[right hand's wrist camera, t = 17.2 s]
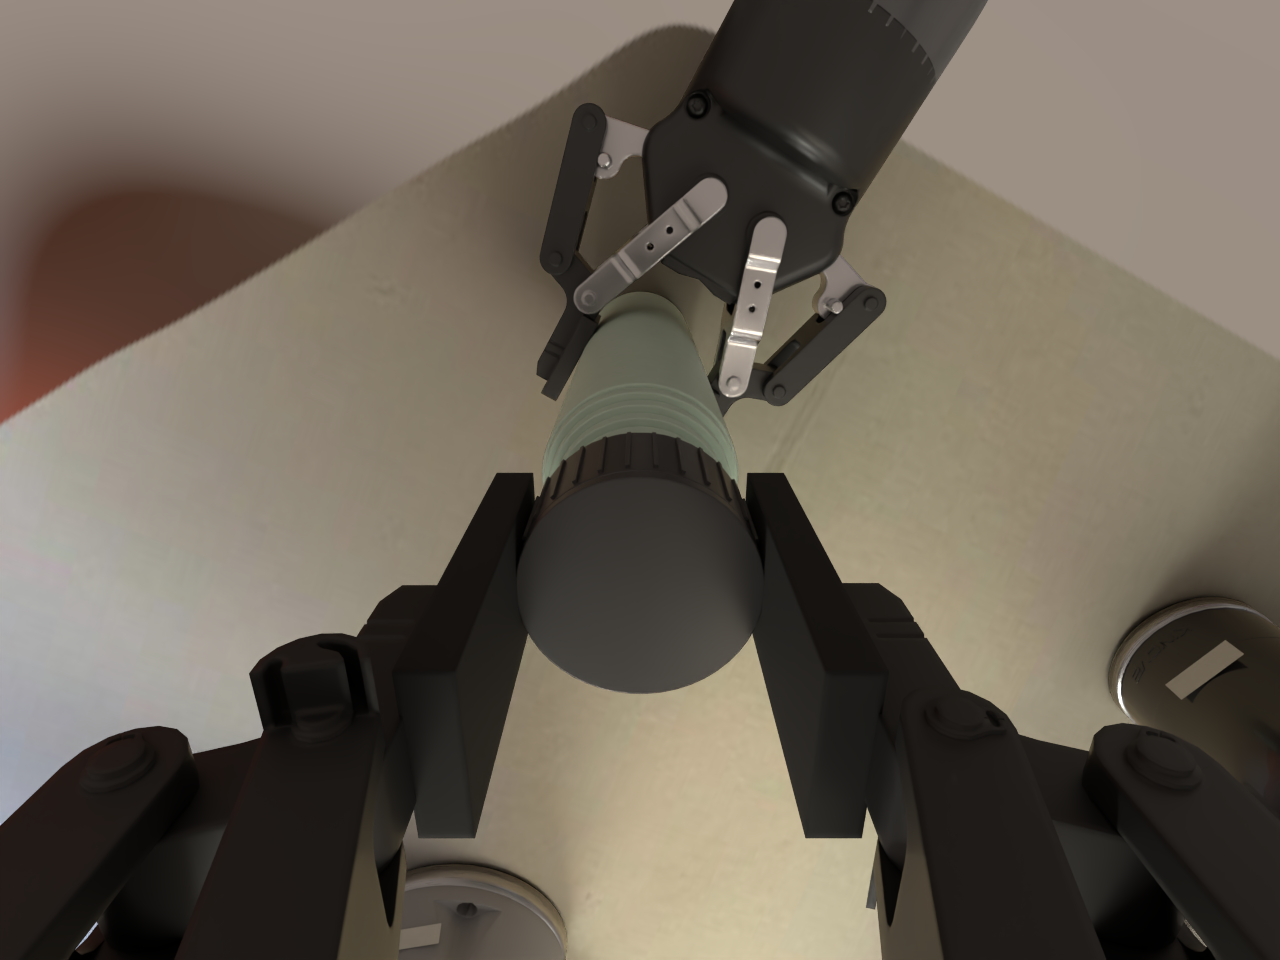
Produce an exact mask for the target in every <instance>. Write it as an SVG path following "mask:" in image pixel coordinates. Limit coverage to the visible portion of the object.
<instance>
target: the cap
mask: <svg viewBox="0 0 1280 960" xmlns="http://www.w3.org/2000/svg"><path fill="white" fill-rule="evenodd" d="M522 540H525V541H524V544H523V547H522V550H521V553H520V556H519V560H518V564H517V568H516V580H517V594H518V606H519V613H520V616H521V619H522V621H523V624H524V626H525V628H526V630H527V632H528V633H529V635H530V637H531V639H532V640H533V641H534V643H535V644H536V645H537V647H538V648H539V650H540V651H541V652H542V653H543V654H544V655H545V656H546V657H547V658H548V659H549V660H550V661H551V662H553V663H554V664H555V665H556V666H558V667H559V668H560V669H561V670H563V671H564V672H566V673H568V674H569V675H571V676H572V677H574V678H576V679H578V680H581V681H583V682H585V683H587V684H590V685H593V686H595V687H598V688H601V689H606V690H610V691H614V692H621V693H630V694H650V693H660V692H666V691H671V690H675V689H679V688H682V687H685V686H688V685H691V684H693V683H696V682H698V681H700V680H702V679H704V678H706V677H708V676H709V675H711V674H713V673H714V672H716V671H718V670H719V669H720V668H722V667H723V666H724V665H725V664H727V663H728V662H729V661H730V660H731V659H732V658H733V657H734V656H735V655H736V654H737V653H738V652H739V651H740V650H741V649H742V647H743V646H744V645H745V643H746V642H747V641H748V639H749V638H750V636H751V634H752V632H753V631H754V629H755V627H756V625H757V622H758V620H759V617H760V615H761V611H762V600H763V587H764V567H763V562H762V558H761V555H760V552H759V549H758V546H757V543H758V542H760V541H759V538H758V535H757V533H756V530H755V527H754V524H753V521H752V518H751V516H750V513H749V510H748V507H747V504H746V501H745V499H744V498H743V499H742V498H741V495H740V492H739V489H738V486H737V483H736V481H735V479H731V478H730V476H729V475H728V474H727V472H726V471H725V470H724V469H723V467H722V464H721V463H720V462H719V461H718V462H716V461H715V460H714V459H713V458H712V457H711V456H709V455H708V454H707V453H705V452H704V451H703V449H702V448H701V447H699V448H697V447H695V446H694V445H692V444H690V443H688V442H685V441H683V440H681V438H679V437H676V438H674V437H670V436H667V435H663V434H656V432H652V433H631V432H627V433H625V434H618V435H614V436H610V437H607V436H605V437H603V438H602V439H600V440H598V441H595V442H593V443H591V444H589V445H587V446H585V447H584V446H582V447H580V450H578V451H577V452H575V453H574V454H573V455H571V456H570V457H568V458H567V459H566V460H564V459H563V460H562V461H561V463H560V466H559V467H558V468H557V469H556V471H555V472H554V473H553V474H552V476H551V477H547V478H546V481H545V484H544V487H543V489H542V492H541V495H540V497H539V496H537V497H536V500H535V503H534V506H533V508H532V511H531V514H530V517H529V520H528V523H527V525H526V528H525V531H524V534H523V537H522Z"/></svg>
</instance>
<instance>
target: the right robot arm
mask: <svg viewBox="0 0 1280 960" xmlns="http://www.w3.org/2000/svg"><path fill="white" fill-rule="evenodd" d="M534 503H535V496H534V480H533V473H496V475H495V477H494V479H493V481H492V483H491V485H490V487H489V489H488V490H487V492H486V494H485V496H484V498H483V500H482V502H481V504H480V506H479V507H478V509H477V511H476V513H475V515H474V517H473V519H472V521H471V522H470V524H469V526H468V528H467V530H466V532H465V534H464V536H463V538H462V539H461V541H460V543H459V545H458V547H457V549H456V551H455V553H454V555H453V556H452V558H451V560H450V562H449V564H448V566H447V568H446V570H445V572H444V573H443V575H442V577H441V579H440V581H439V583H438V585H402V586H401V587H399V588H398V589H397V590H395V591H394V592H392V593H391V594H390V595H388V596H387V597H385V598H384V599H383V600H381V601H380V602H379V603H378V605H377V606H376V608H375V609H374V611H373V612H372V614H371V615H370V617H369V619H368V620H367V624H365V625H364V626H363V628H362V629H361V631H360V632H359V634H358V635H357V637H354V636H350V635H347V634H343V633H334V634H318V635H313V636H309V637H304V638H300V639H297V640H295V641H292V642H290V643H287V644H285V645H283V646H280V647H278V648H276V649H275V650H273V651H272V652H270V653H269V654H268V655H266V656H265V657H263V658H262V659H260V660H259V662H258V663H257V664H256V665H255V667H254V668H253V669H252V670H251V672H250V673H249V675H250V679H251V683H252V687H253V691H254V695H255V698H256V702H257V706H258V710H259V714H260V718H261V722H262V726H263V730H264V731H263V733H262V736H261V738H258V739H254V740H251V741H247V742H244V743H240V744H236V745H231V746H227V747H222V748H218V749H213V750H209V751H204V752H200V753H195V754H192V751H191V748H190V745H189V742H188V739H187V737H186V736H185V735H183V734H182V733H181V732H180V731H179V730H178V729H174V728H168V727H162V726H154V727H146V728H137V729H133V730H130V731H126V732H123V733H119V734H117V735H114V736H111V737H108V738H106V739H104V740H102V741H101V742H99V743H97V744H95V745H93V746H91V747H89V748H87V749H85V750H83V751H82V752H81V753H79V754H78V755H77V756H75V757H74V758H73V759H71V760H70V761H69V762H67V763H66V764H65V765H64V766H62V767H61V768H60V769H59V770H58V771H57V772H56V773H55V774H54V775H53V776H52V777H51V778H50V779H49V780H48V781H47V782H45V783H44V784H43V785H42V786H41V787H40V788H39V789H38V790H37V791H36V792H35V793H34V794H33V795H32V796H31V797H30V798H29V799H28V800H27V801H26V802H25V803H24V804H23V805H21V806H20V807H19V808H18V809H17V810H16V811H15V812H14V813H13V814H12V815H11V816H10V817H9V818H8V819H7V820H6V821H5V822H4V823H3V824H2V825H1V826H0V960H565V957H566V947H567V937H566V931H565V926H564V924H563V921H562V919H561V917H560V915H559V913H558V912H557V910H556V909H555V907H554V906H553V905H552V904H551V903H550V902H549V900H548V899H547V898H546V897H544V896H543V895H542V894H541V893H540V892H539V891H537V890H536V889H535V888H533V887H532V886H530V885H529V884H527V883H525V882H523V881H521V880H520V879H518V878H515V877H513V876H511V875H509V874H506V873H503V872H500V871H497V870H493V869H490V868H485V867H480V866H473V865H464V864H442V865H432V866H426V867H422V868H418V869H414V870H411V871H408V872H406V869H407V865H406V859H405V852H404V846H403V841H402V839H403V837H404V834H405V831H406V829H407V826H408V823H409V821H410V818H411V815H412V813H413V810H414V813H415V819H416V825H417V831H418V837H419V838H475V836H476V832H477V828H478V824H479V820H480V816H481V813H482V809H483V805H484V801H485V797H486V793H487V789H488V786H489V782H490V778H491V774H492V770H493V766H494V762H495V759H496V755H497V751H498V747H499V743H500V739H501V736H502V732H503V728H504V724H505V720H506V716H507V712H508V709H509V705H510V701H511V697H512V693H513V689H514V685H515V682H516V678H517V674H518V670H519V666H520V662H521V659H522V655H523V651H524V647H525V643H526V639H527V635H528V632H527V630H526V628H525V626H524V624H523V621H522V619H521V616H520V613H519V606H518V594H517V580H516V568H517V564H518V560H519V556H520V553H521V550H522V547H523V544H524V541H525V540H522V537H523V534H524V531H525V528H526V525H527V523H528V520H529V517H530V514H531V511H532V508H533V506H534ZM746 504H747V507H748V510H749V513H750V516H751V518H752V521H753V524H754V527H755V530H756V533H757V535H758V538H759V541H760V542H758V543H757V546H758V549H759V552H760V555H761V558H762V562H763V567H764V587H763V600H762V611H761V615H760V617H759V620H758V622H757V625H756V627H755V629H754V631H753V632H752V634H753V638H754V641H755V645H756V649H757V653H758V657H759V661H760V665H761V668H762V672H763V676H764V680H765V684H766V688H767V692H768V695H769V699H770V703H771V707H772V711H773V715H774V718H775V722H776V726H777V730H778V734H779V738H780V742H781V745H782V749H783V753H784V757H785V761H786V765H787V768H788V772H789V776H790V780H791V784H792V788H793V792H794V795H795V799H796V803H797V807H798V811H799V815H800V819H801V822H802V826H803V830H804V834H805V838H862V834H863V828H864V821H865V815H866V809H867V808H868V811H869V813H870V816H871V819H872V821H873V824H874V827H875V829H876V832H877V835H878V841H877V846H876V852H875V858H874V863H873V869H872V875H871V880H870V886H869V892H868V898H867V905H866V908H871V909H875V907H876V901H877V909H878V920H879V931H880V941H881V952H882V960H1280V820H1278V819H1277V818H1276V817H1275V816H1274V815H1273V814H1272V813H1271V812H1270V811H1269V810H1268V809H1267V808H1266V807H1265V806H1264V805H1263V804H1262V803H1261V802H1260V801H1258V800H1257V799H1256V798H1255V797H1254V796H1253V795H1252V794H1251V793H1250V792H1249V791H1248V790H1247V789H1246V788H1245V787H1244V786H1243V785H1242V784H1241V783H1240V782H1239V781H1237V780H1236V779H1235V778H1234V777H1233V776H1232V775H1231V774H1230V773H1229V772H1228V771H1227V770H1226V769H1225V768H1224V767H1223V766H1222V765H1221V764H1219V763H1218V762H1217V761H1216V760H1214V759H1213V758H1212V757H1210V756H1209V755H1208V754H1206V753H1205V752H1204V751H1202V750H1201V749H1200V748H1198V747H1197V746H1195V745H1193V744H1191V743H1189V742H1187V741H1185V740H1183V739H1181V738H1179V737H1177V736H1175V735H1173V734H1170V733H1167V732H1165V731H1162V730H1158V729H1155V728H1151V727H1148V726H1143V725H1134V724H1126V723H1120V724H1115V725H1109V726H1104V727H1103V728H1102V729H1101V730H1099V731H1098V732H1097V733H1096V734H1095V735H1094V737H1093V740H1092V744H1091V747H1090V750H1089V751H1085V750H1080V749H1076V748H1071V747H1067V746H1062V745H1058V744H1053V743H1049V742H1044V741H1040V740H1036V739H1033V738H1029V737H1026V736H1022V735H1019V734H1018V732H1017V729H1016V728H1015V727H1014V725H1013V724H1012V722H1011V721H1010V719H1009V718H1008V716H1007V715H1006V714H1005V713H1004V712H1003V711H1001V710H1000V709H999V708H997V707H996V706H995V705H994V704H992V703H991V702H990V701H988V700H986V699H983V698H981V697H979V696H977V695H975V694H973V693H971V692H968V691H964V690H961V689H960V688H959V686H958V685H957V683H956V682H955V680H954V679H953V677H952V676H951V674H950V673H949V671H948V670H947V668H946V667H945V665H944V664H943V662H942V661H941V659H940V658H939V656H938V655H937V653H936V651H935V650H934V648H933V647H932V645H931V644H930V642H929V641H928V639H927V638H924V633H923V632H922V630H921V629H920V627H919V626H918V624H917V623H916V622H914V618H913V617H912V615H911V613H910V612H909V610H908V609H907V607H906V606H905V604H904V603H903V601H902V600H901V599H900V598H899V597H897V596H896V595H894V594H893V593H891V592H890V591H889V590H887V589H886V588H884V587H883V586H882V585H880V584H879V583H842V582H841V580H840V578H839V576H838V574H837V573H836V571H835V569H834V567H833V565H832V563H831V561H830V559H829V557H828V556H827V554H826V552H825V550H824V548H823V546H822V544H821V542H820V540H819V539H818V537H817V535H816V533H815V531H814V529H813V527H812V525H811V524H810V522H809V520H808V518H807V516H806V514H805V512H804V510H803V508H802V507H801V505H800V503H799V501H798V499H797V497H796V495H795V493H794V491H793V490H792V488H791V486H790V484H789V482H788V480H787V478H786V476H785V474H784V473H747V487H746ZM1185 919H1186V920H1187V921H1188V922H1189V924H1190V925H1191V926H1192V928H1193V929H1194V930H1195V931H1196V933H1197V934H1198V935H1199V937H1200V938H1201V939H1202V940H1203V942H1204V943H1205V944H1206V946H1207V947H1205V946H1204V945H1203V944H1202V943H1201V942H1200V941H1199V940H1198V939H1197V938H1196V937H1195V936H1194V934H1193V933H1192V932H1191V931H1190V929H1189V928H1188V927H1187V925H1186V924H1185V923H1184V920H1185ZM96 922H97V923H98V925H97V926H96V927H95V929H94V930H93V931H92V933H91V934H90V935H89V936H88V938H87V939H86V940H85V941H84V942H83V943H82V944H81V945H80V946H79V947H78V948H77V946H78V945H79V944H80V942H81V941H82V940H83V938H84V937H85V936H86V935H87V933H88V932H89V931H90V929H91V928H92V927H93V925H94V924H95V923H96ZM76 948H77V949H76Z"/></svg>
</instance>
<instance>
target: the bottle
mask: <svg viewBox="0 0 1280 960" xmlns="http://www.w3.org/2000/svg"><path fill="white" fill-rule="evenodd" d="M599 315H601V318H600V321H599V324H598V326H597V328H596V330H595V331H594V333H593V335H592V337H591V339H590V340H589V342H588V344H587V345H586V347H585V349H584V351H583V353H582V355H581V358H580V361H579V363H578V366H577V368H576V371H575V374H574V376H573V379H572V381H571V384H570V387H569V389H568V392H567V394H566V397H565V399H564V402H563V405H562V407H561V410H560V412H559V415H558V418H557V420H556V423H555V425H554V428H553V431H552V433H551V436H550V438H549V441H548V444H547V447H546V450H545V454H544V459H543V466H542V481H543V487H544V484H545V481H546V478H547V477H551V476H552V474H553V473H554V472H555V471H556V469H557V468H558V467H559V466H560V463H561V461H562V460H563V459H564V460H566V459H567V458H568V457H570V456H571V455H573V454H574V453H575V452H577V451H578V450H580V447H582V446H584V447H585V446H587V445H589V444H591V443H593V442H595V441H598V440H600V439H602V438H603V437H605V436H607V437H610V436H614V435H618V434H625V433H627V432H631V433H652V432H656V434H663V435H667V436H670V437H674V438H676V437H679V438H681V440H683V441H685V442H688V443H690V444H692V445H694V446H695V447H697V448H699V447H701V448H702V449H703V451H704V452H705V453H707V454H708V455H709V456H711V457H712V458H713V459H714V460H715V461H716V462H718V461H719V462H720V463H721V464H722V467H723V469H724V470H725V471H726V472H727V474H728V475H729V476H730V478H731V479H735V481H736V483H737V484H738V463H737V457H736V452H735V449H734V446H733V443H732V440H731V437H730V435H729V432H728V430H727V427H726V424H725V422H724V419H723V417H722V414H721V411H720V409H719V406H718V404H717V401H716V398H715V396H714V393H713V391H712V388H711V385H710V383H709V380H708V378H707V375H706V372H705V370H704V367H703V365H702V362H701V359H700V357H699V354H698V352H697V349H696V346H695V344H694V341H693V339H692V336H691V334H690V331H689V328H688V326H687V323H686V321H685V319H684V317H683V315H682V314H681V312H680V311H679V310H678V309H677V307H676V306H675V305H673V304H672V303H671V302H670V301H668V300H667V299H665V298H664V297H662V296H660V295H657V294H654V293H649V292H631V293H626V294H624V295H621V296H619V297H617V298H615V299H613V300H612V301H611V302H609V303H608V304H607V305H606V306H605V307H604V308H603V309H602V310H601V311H600V313H599Z"/></svg>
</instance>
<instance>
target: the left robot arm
mask: <svg viewBox="0 0 1280 960" xmlns="http://www.w3.org/2000/svg"><path fill="white" fill-rule="evenodd" d="M986 3H987V0H734V2H733V4H732V6H731V8H730V9H729V11H728V13H727V15H726V17H725V19H724V21H723V23H722V24H721V27H720V28H719V30H718V32H717V34H716V36H715V38H714V39H713V41H712V43H711V45H710V47H709V49H708V51H707V53H706V55H705V56H704V58H703V60H702V62H701V64H700V66H699V68H698V70H697V71H696V73H695V75H694V77H693V79H692V81H691V83H690V85H689V87H688V88H687V90H686V92H685V94H684V96H683V98H682V100H681V101H680V103H679V105H678V106H677V107H676V109H675V110H674V111H673V112H672V113H671V114H669V115H668V116H667V117H666V118H664V119H663V120H661V121H659V122H658V123H656V124H655V125H654V126H653V127H652V128H651V129H650V130H647V129H645V128H642V127H639V126H636V125H633V124H630V123H627V122H624V121H621V120H618V119H615V118H612V117H609V116H607V115H605V114H604V112H603V110H602V109H601V108H600V107H599V106H597V105H595V104H592V103H586V104H583V105H581V106H579V107H578V108H577V109H576V111H575V113H574V115H573V118H572V123H571V127H570V131H569V135H568V139H567V143H566V148H565V152H564V156H563V160H562V164H561V168H560V173H559V177H558V181H557V185H556V189H555V193H554V198H553V202H552V206H551V210H550V214H549V218H548V223H547V227H546V231H545V235H544V239H543V243H542V248H541V252H540V263H541V265H542V267H543V269H544V270H545V271H546V272H548V273H550V274H551V275H552V276H553V277H554V278H555V280H556V281H557V282H558V283H559V284H560V285H561V287H562V288H563V289H564V291H565V293H566V297H567V306H566V309H565V311H564V313H563V315H562V317H561V319H560V321H559V323H558V325H557V326H556V328H555V330H554V332H553V334H552V336H551V338H550V340H549V342H548V343H547V345H546V347H545V349H544V351H543V353H542V355H541V357H540V358H539V360H538V365H537V375H538V376H540V377H542V378H543V379H545V380H547V382H546V384H545V386H544V388H543V390H542V392H541V393H542V394H544V395H545V396H547V397H549V398H551V399H553V400H555V401H556V400H557V398H558V396H559V395H560V393H561V391H562V389H563V387H564V386H565V384H566V382H567V380H568V378H569V377H570V375H571V373H572V371H573V369H574V368H575V366H576V364H577V362H578V360H579V358H580V357H581V355H582V353H583V351H584V349H585V347H586V345H587V344H588V342H589V340H590V339H591V337H592V335H593V333H594V331H595V330H596V328H597V326H598V324H599V321H600V318H601V315H599V312H600V310H601V309H602V308H603V307H604V306H606V305H607V304H608V303H609V302H610V301H612V300H613V299H614V298H615V297H616V296H617V295H619V294H620V293H621V292H622V291H623V290H625V289H626V288H627V287H628V286H629V285H630V284H632V283H633V282H634V281H636V280H637V279H639V278H640V277H641V276H643V275H644V274H645V273H646V272H647V271H649V270H650V269H651V268H652V267H653V266H654V265H656V264H657V263H658V262H659V261H661V263H662V264H664V265H666V266H667V267H669V268H670V269H672V270H674V271H675V272H677V273H679V274H682V275H686V276H689V277H693V278H696V279H699V280H700V281H701V282H702V283H703V284H704V285H705V286H706V287H707V288H708V289H709V290H710V292H711V293H712V294H713V295H715V296H716V297H718V298H720V299H721V300H723V301H724V302H725V303H724V308H723V313H722V319H721V330H720V336H719V340H718V345H717V350H716V355H715V360H714V364H713V368H712V370H711V371H710V373H709V375H708V376H707V378H708V380H709V383H710V385H711V388H712V391H713V393H714V396H715V398H716V401H717V404H718V406H719V409H720V411H721V414H722V417H724V415H725V414H726V412H727V411H728V409H729V407H730V406H731V405H732V404H733V403H734V402H735V401H737V400H739V399H741V398H754V399H760V400H765V401H767V402H768V403H770V404H771V405H774V406H782V405H785V404H786V403H788V402H789V401H790V400H791V399H792V398H793V397H794V396H795V395H796V394H797V393H799V392H800V391H801V390H802V389H803V388H804V387H805V386H806V385H807V384H808V383H809V382H810V381H811V380H812V379H813V378H814V377H815V376H816V375H817V374H819V373H820V372H821V371H822V370H823V369H824V368H825V367H826V366H827V365H828V364H829V363H830V362H831V361H832V360H833V359H834V358H835V357H836V356H837V355H839V354H840V353H841V352H842V351H843V350H844V349H845V348H846V347H847V346H848V345H849V344H850V343H851V342H852V341H853V340H854V339H855V338H856V337H857V336H859V335H860V334H861V333H862V332H863V331H864V330H865V329H866V328H867V327H868V326H869V325H870V324H871V323H872V322H873V321H874V320H875V319H876V318H877V317H879V316H880V315H881V314H882V312H883V311H884V309H885V307H886V297H885V294H884V293H883V292H882V291H881V290H880V289H878V288H875V287H874V286H872V285H869V284H867V283H866V282H865V281H864V280H863V279H862V278H861V277H860V276H859V275H858V274H857V272H856V271H855V270H854V269H853V268H852V267H851V266H850V265H849V264H848V263H847V261H846V260H845V259H844V258H843V257H842V256H841V255H840V253H841V250H842V247H843V238H844V231H845V227H846V224H847V221H848V219H849V217H850V215H851V213H852V211H853V210H854V208H855V207H856V205H857V204H858V202H859V201H860V199H861V198H862V196H863V195H864V193H865V192H866V190H867V188H868V187H869V185H870V184H871V182H872V181H873V179H874V178H875V176H876V175H877V173H878V171H879V170H880V168H881V167H882V165H883V164H884V162H885V161H886V159H887V158H888V156H889V154H890V153H891V151H892V150H893V148H894V147H895V145H896V144H897V142H898V141H899V139H900V138H901V136H902V134H903V133H904V131H905V130H906V128H907V127H908V125H909V124H910V122H911V120H912V119H913V117H914V116H915V114H916V113H917V111H918V109H919V108H920V106H921V105H922V103H923V102H924V100H925V99H926V97H927V96H928V94H929V93H930V91H931V89H932V88H933V86H934V85H935V83H936V82H937V80H938V79H939V77H940V76H941V74H942V73H943V71H944V69H945V68H946V66H947V65H948V63H949V62H950V60H951V59H952V57H953V56H954V54H955V53H956V51H957V49H958V48H959V46H960V45H961V43H962V42H963V40H964V39H965V37H966V36H967V34H968V32H969V31H970V29H971V28H972V26H973V25H974V23H975V21H976V20H977V18H978V16H979V15H980V13H981V11H982V10H983V8H984V6H985V4H986ZM632 157H641V158H642V165H643V176H644V187H645V198H646V209H647V220H648V224H646V225H645V226H644V227H643V228H642V229H641V230H640V231H638V232H637V233H636V234H635V235H634V236H633V237H631V238H630V239H629V240H628V241H627V242H626V243H625V244H623V245H622V246H621V247H620V248H619V249H618V250H617V251H616V252H615V253H614V254H612V255H611V256H610V257H609V258H608V259H607V260H605V261H604V262H603V263H602V264H601V265H600V266H599V267H597V268H596V269H595V270H594V271H593V269H592V268H591V267H590V266H589V264H588V263H587V262H586V261H585V260H584V258H583V257H582V256H581V255H580V254H579V252H578V251H579V247H580V244H581V240H582V236H583V232H584V228H585V224H586V220H587V217H588V213H589V209H590V205H591V201H592V197H593V193H594V190H595V186H596V182H597V178H600V179H604V180H608V179H612V178H614V177H615V176H616V175H617V174H618V173H619V171H620V169H621V167H622V165H623V163H624V162H625V161H626V160H627V159H629V158H632ZM649 243H651V245H648V244H649ZM817 274H820V277H821V284H820V288H819V289H818V291H817V292H816V294H815V295H814V297H813V300H812V307H813V310H814V311H815V314H814V315H813V316H812V317H811V318H810V319H809V320H808V321H807V322H806V323H805V324H804V325H803V326H802V327H801V328H800V329H799V330H798V331H797V332H796V333H795V334H794V335H793V336H792V337H791V338H789V339H788V340H787V341H786V342H785V343H784V344H783V345H782V346H781V347H780V348H779V349H778V350H777V351H776V352H775V353H774V354H773V355H772V356H771V357H770V358H769V359H768V360H767V361H766V362H765V363H764V364H760V363H754V357H755V353H756V349H757V345H758V343H759V342H760V340H761V337H762V334H763V330H764V326H765V321H766V317H767V313H768V308H769V304H770V300H771V295H772V294H774V293H776V292H778V291H781V290H783V289H785V288H787V287H790V286H792V285H794V284H796V283H799V282H801V281H803V280H805V279H808V278H810V277H812V276H814V275H817ZM1109 688H1110V692H1111V695H1112V698H1113V699H1114V701H1115V703H1116V704H1117V706H1118V707H1119V708H1120V709H1121V710H1122V711H1123V712H1124V713H1125V714H1126V715H1127V716H1128V718H1129V719H1130V720H1131V721H1132V722H1134V723H1135V724H1136V725H1143V726H1148V727H1151V728H1155V729H1158V730H1162V731H1165V732H1167V733H1170V734H1173V735H1175V736H1177V737H1179V738H1181V739H1183V740H1185V741H1187V742H1189V743H1191V744H1193V745H1195V746H1197V747H1198V748H1200V749H1201V750H1202V751H1204V752H1205V753H1206V754H1208V755H1209V756H1210V757H1212V758H1213V759H1214V760H1216V761H1217V762H1218V763H1219V764H1221V765H1222V766H1223V767H1224V768H1225V769H1226V770H1227V771H1228V772H1229V773H1230V774H1231V775H1232V776H1233V777H1234V778H1235V779H1236V780H1237V781H1239V782H1240V783H1241V784H1242V785H1243V786H1244V787H1245V788H1246V789H1247V790H1248V791H1249V792H1250V793H1251V794H1252V795H1253V796H1254V797H1255V798H1256V799H1257V800H1258V801H1260V802H1261V803H1262V804H1263V805H1264V806H1265V807H1266V808H1267V809H1268V810H1269V811H1270V812H1271V813H1272V814H1273V815H1274V816H1275V817H1276V818H1277V819H1278V820H1280V628H1278V627H1277V626H1275V625H1274V623H1273V622H1272V621H1270V620H1269V619H1268V618H1267V617H1265V616H1264V615H1262V614H1261V613H1259V612H1258V611H1256V610H1255V609H1253V608H1252V607H1250V606H1248V605H1247V604H1245V603H1242V602H1240V601H1237V600H1233V599H1229V598H1223V597H1204V598H1196V599H1191V600H1187V601H1183V602H1180V603H1177V604H1174V605H1171V606H1169V607H1167V608H1165V609H1163V610H1161V611H1159V612H1157V613H1155V614H1153V615H1152V616H1150V617H1149V618H1147V619H1146V620H1144V621H1143V622H1142V623H1141V624H1139V625H1138V626H1137V627H1136V628H1135V629H1134V630H1133V631H1132V632H1131V633H1130V634H1129V635H1128V636H1127V637H1126V638H1125V640H1124V641H1123V642H1122V644H1121V645H1120V647H1119V648H1118V650H1117V652H1116V654H1115V656H1114V658H1113V660H1112V663H1111V667H1110V672H1109Z"/></svg>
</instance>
